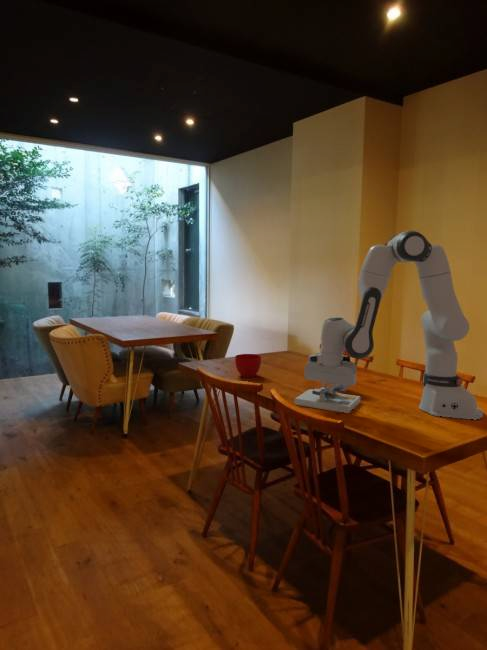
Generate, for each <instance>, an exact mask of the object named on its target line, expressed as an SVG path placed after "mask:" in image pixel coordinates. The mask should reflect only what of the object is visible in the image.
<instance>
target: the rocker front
mask: <svg viewBox="0 0 487 650" xmlns="http://www.w3.org/2000/svg"><path fill="white" fill-rule="evenodd" d="M320 389H321V388H314V389H312V390H313V392H312V394H315V395H319V396H320V393H322V394H325V397H327V398H331V399H335V398H336V397H337V394H335V393H333V394H328V393H324V391H323V390H320Z"/></svg>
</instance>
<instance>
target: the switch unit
mask: <svg viewBox="0 0 487 650" xmlns="http://www.w3.org/2000/svg"><path fill="white" fill-rule="evenodd" d="M330 387H333V386H331V385H330ZM313 390H314V389H311V388H310V389H308V390H306V391H304V392H302V394H300V395H298V396H296V397H294V405H295V404H296V406H302V407H308V408H314V409H321V410H327V411H332V412H337V413H338V412H339V413H343V412H344V413H345V414H349V413H351V412H352V411H351V410H352V409H353V410H354V409H355V408H356V407H357V406H358V405H359V404H360V403H361V396H360V395H355V394H354V395H353V394H346V393H339V392H337V391H333V393H335V394H337V397H336V398H335V399H331V398H327V397H325V394H322V393H320V396H319V395H315V394H312V392H313ZM350 411H351V412H350Z"/></svg>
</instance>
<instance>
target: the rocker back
mask: <svg viewBox="0 0 487 650" xmlns="http://www.w3.org/2000/svg"><path fill="white" fill-rule="evenodd" d="M327 388H329V389H331V388H332V387H331V386H327ZM319 389H320V390H323V391H324V387H323V386H322V387H320V388H319ZM342 389H343V386H336V387H335V388H334V389H333V391H336V392H341V391H340V390H342Z"/></svg>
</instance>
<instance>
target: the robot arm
mask: <svg viewBox="0 0 487 650" xmlns="http://www.w3.org/2000/svg"><path fill="white" fill-rule="evenodd" d="M401 262H402V263H409V262H413V263H414V264H415V266H416V269H417V271H418V278H419V284H420V289H421V295H422V299H423V300H424V302H425V304H426V306H427V309H428V310H426V311H425V312H424V313H423V314H422V316H421V319H420V325H421V328H422V331H423V336H424V337H423V338H424V344H425V371H424V373H423V379H422V386H423V390H422V395H421V399H420V403H419V405H418V408H419V409H420V410H421V411H423V412H425V413H428V414H430V415H432V416H433V415H434V417H440V416H442V418H450V417H451V418H452V419H461V418H462V419H461V420H463V419H464V420H471V419H473V420H474V421H478V420H477V419H479V420H481V419H482V418H483V417H484V411H483V410H482V409H481V408H480V407H478V402H477V399H476V397H475V395H473V394H472V393H471V392H470V391H469V390H468V389H466V387H464V386H463V385H462V384H463V378H462V376H460V375H458V374H457V372H458V371H457V370H458V352H457V351H456V347H455V342H458V341H461V340H463V339H464V338H466V337H467V335H468V333H469V331H470V323H469V320H468V319H467V318H466V316H465V315H464V313H463V311H462V308H461V305H460V303H459V301H458V298H457V296H456V292H455V289H454V284H453V277H452V271H451V267H450V263H449V260H448V256H447V254H446V251H445V249H444V247H443V246H441V245H440V244H435V243H433V244H431V243H430V242H429V241H428V239H427V238H426V237H425V236H424V235H423V234H422V233H420V232H418V231H415V230H410V231H403V232H400V233H397V234H395V235H393V236H392V237H391V238H390V239H389V240H388V241H387V242H386V243H385V244H375V245H372V246H371V247H370V248H369V249H368V251H367V253H366V255H365V257H364V260H363V262H362V266H361V268H360V271H359V276H358V281H357V290H358V294H359V299H360V300H359V301H360V304H359V305H360V306H359V312H358V315H357V317H356V322H355V325H353V324H352V323H351V322H349V321H346V320H345V319H344V318H343V317H330V318H327V319H326V320H324V322H323V324H322V328H321V335H320V338H321V339H320V342H321V347H320V350H319V352H318V353H313V354H311V355H309V356H307V362H306V364H305V368H304V373H303V375H304V378H305V379H307V380H312V381H317V382H318V381H319V382H321V385H322V387H324V393H328V394H333V389H334V388H335V387H336V385H337V384H339V385H345V386H347V387H353V386H355V385H356V383H357V371H358V367H357V364H356V363H355V362H353V361H351V362H348V361H343V356H344V351H345V352H346V353H347V354H348V355H349V356H350V357H352V358H354V359H364V358H367V357H368V356H370V354H372V352H373V350H374V342H375V341H374V336H373V332H374V331H373V330H374V327H375V323H376V319H377V315H378V310H379V308H380V304H381V301H382V299H383V297H384V295H385V292H386V290H387V287H388V284H389V281H390V278H391V275H392V272H393V269H394V267H395V266H396V264H397V263H401ZM328 383H329V384H331V385H330V387H331V386H333V387H332V388H331V389H329V388H327V387H328V386H327V384H328ZM480 418H481V419H480Z"/></svg>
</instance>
